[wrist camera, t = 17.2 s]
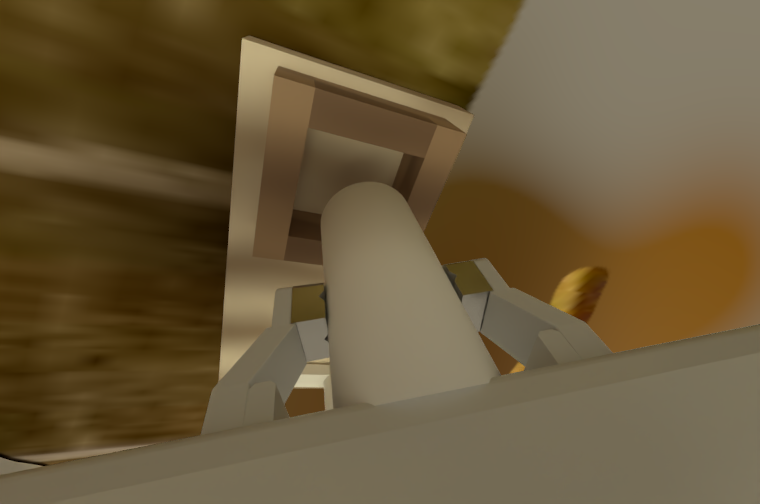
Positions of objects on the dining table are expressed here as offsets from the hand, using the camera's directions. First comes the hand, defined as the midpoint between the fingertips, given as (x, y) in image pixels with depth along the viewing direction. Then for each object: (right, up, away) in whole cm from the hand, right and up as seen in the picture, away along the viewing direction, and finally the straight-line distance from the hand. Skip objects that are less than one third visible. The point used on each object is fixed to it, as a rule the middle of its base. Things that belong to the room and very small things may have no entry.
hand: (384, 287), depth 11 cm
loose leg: (-1, +2, +3) cm, 4 cm away
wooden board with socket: (-5, +1, +14) cm, 14 cm away
